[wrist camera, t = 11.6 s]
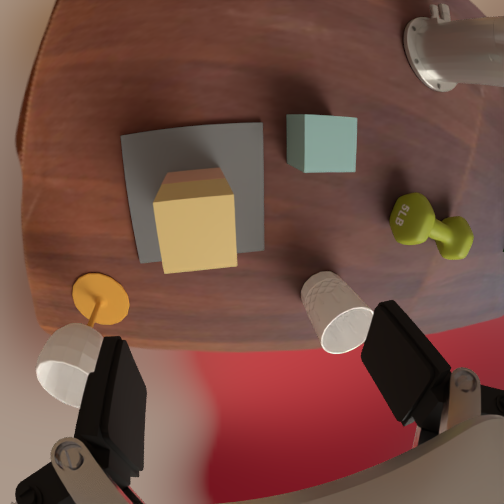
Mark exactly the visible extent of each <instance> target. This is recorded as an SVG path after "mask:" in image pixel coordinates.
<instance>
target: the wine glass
mask: <svg viewBox="0 0 504 504" xmlns="http://www.w3.org/2000/svg"><path fill="white" fill-rule="evenodd" d="M72 296H73V300H74V303H75V306H76V307H77V308H78V310H79V311H80V312H81V314H82V315H84V316H85V317H87V318H88V319H89V322H88V324H87V325H84V324H81V323H71V324H68V325H66V326H64V327H62V328H60V329H58V330H57V331H56V332H55V333H54V334H53V335H52V336H51V337H50V338H49V339H48V341H47V342H46V344H45V346H44V347H43V349H42V351H41V353H40V354H39V356H38V360H37V365H36V375H37V379H38V380H39V382H40V383H41V385H42V387H43V388H44V389H45V390H46V391H47V392H48V393H49V394H51V395H52V396H53V397H55V398H56V399H58V400H60V401H61V402H63V403H65V404H68V405H70V406H73V407H76V408H80V405H81V401H82V397H83V393H84V389H85V385H86V381H87V377H88V375H89V373H90V372H94V370H95V366H96V362H97V359H98V355H99V352H100V348H101V345H102V341H103V339H104V338H103V337H102V335H101V334H100V333H99V332H98V331H96V330H95V329H93V326H94V323H95V322H96V323H99V324H108V325H112V324H115V323H117V322H120V321H122V320H123V319H124V317H125V316H126V315H127V313H128V310H129V306H130V304H129V299H128V295H127V293H126V292H125V290H124V289H123V287H122V286H121V284H119V283H118V282H117V281H115V280H114V279H113V278H111V277H109V276H106V275H103V274H101V273H88V274H85V275H83V276H81V277H79V278H78V280H77V281H76V283H75V284H74V285H73V293H72Z"/></svg>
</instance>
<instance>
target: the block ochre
mask: <svg viewBox="0 0 504 504" xmlns="http://www.w3.org/2000/svg"><path fill="white" fill-rule="evenodd" d="M153 207H154V214H155V221H156V228H157V234H158V240H159V246H160V252H161V258H162V263H163V268H164V274H167V273H177V272H187V271H196V270H206V269H215V268H224V267H234V266H237V249H236V229H235V207H234V194H233V192H232V190H231V188H230V186H229V184H228V182H227V180H226V178H222V179H210V180H199V181H189V182H179V183H170V184H162V185H161V187H160V189H159V191H158V193H157V195H156V197H155V199H154V201H153Z"/></svg>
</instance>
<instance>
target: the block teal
mask: <svg viewBox="0 0 504 504" xmlns="http://www.w3.org/2000/svg"><path fill="white" fill-rule="evenodd" d="M286 120H287V164H289V165H291V166H293V167H295V168H297V169H299V170H300V171H302V172H304V173H308V172H355V165H356V143H357V118H351V117H340V116H327V115H308V114H287V115H286Z"/></svg>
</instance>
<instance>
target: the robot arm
mask: <svg viewBox="0 0 504 504" xmlns="http://www.w3.org/2000/svg"><path fill="white" fill-rule="evenodd" d="M429 7H430V12H431V17H430V18H427V17H419V18H415V19H413V20H411V21H410V22H409V23H408V24H407V26H406V28H405V31H404V47H405V52H406V55H407V58H408V61H409V63H410V65H411V67H412V69H413V71H414V72H415V74H416V75H417V76H418V78H419V79H420V80H421V81H422V82H423V83H424V84H425V85H426V86H428V87H429V88H431V89H433V90H435V91H441V92H447V91H450V90H452V89H453V88H454V87H455V86H456V85H457V83H470V84H482V85H492V86H500V87H504V16H498V17H483V18H472V19H464V20H456V21H451V20H450V11H449V7H448V6H447V5H445V4H438V6H436V5H429ZM438 11H439V12H438ZM439 15H440V18H439ZM361 359H362V362H363V363H364V365H365V367H366V368H367V370H368V372H369V373H370V375H371V376H372V378H373V380H374V382H375V384H376V385H377V387H378V389H379V390H380V392H381V394H382V395H383V397H384V399H385V401H386V402H387V404H388V406H389V407H390V409H391V411H392V413H393V414H394V416H395V418H396V419H397V421H399V422H401V423H402V425H403V426H406V425H408V424H410V423H412V422H414V421H415V422H416V423H417V429H416V434H415V439H414V443H413V448H412V449H411V450H409V451H407V452H405V453H403V454H401V455H399V456H397V457H394V458H392V459H390V460H388V461H385V462H383V463H381V464H378V465H376V466H373V467H371V468H368V469H366V470H363V471H361V472H358V473H355V474H353V475H350V476H347V477H344V478H341V479H338V480H335V481H332V482H328V483H325V484H322V485H318V486H315V487H311V488H308V489H304V490H300V491H296V492H291V493H286V494H282V495H277V496H272V497H266V498H260V499H254V500H247V501H240V502H232V503H222V504H504V390H500V389H496V388H491V387H488V386H484V385H480V380H479V378H478V376H477V375H476V374H475V373H474V372H473V371H472V370H470V369H467V368H462V367H461V368H457V369H456V370H454V371H453V372H452V373H451V372H450V369H451V367H450V365H449V364H448V363H447V362H446V360H445V359H444V358H443V357H442V355H441V354H440V353H439V352H438V350H437V349H436V348H435V347H434V346H433V345H432V343H431V342H430V341H429V340H428V338H427V337H426V336H425V335H424V334H423V333H422V331H421V330H420V329H419V328H418V327H417V326H416V324H415V323H414V322H413V321H412V320H411V319H410V318H409V316H408V315H407V314H406V313H405V312H404V311H403V310H402V309H401V308H400V306H399V305H398V304H397V303H396V302H395V301H394V300H389V301H385V302H381V303H379V304H378V306H377V307H376V308H375V310H374V314H373V317H372V321H371V324H370V327H369V331H368V334H367V337H366V340H365V343H364V346H363V349H362V352H361ZM146 397H147V391H146V386H145V384H144V381H143V379H142V377H141V375H140V372H139V370H138V368H137V366H136V363H135V361H134V359H133V356H132V354H131V351H130V349H129V346H128V344H127V342H126V340H122V339H121V337H120V336H111V337H104V339H103V341H102V345H101V348H100V352H99V355H98V359H97V362H96V366H95V370H94V372H90V373H89V375H88V377H87V381H86V385H85V389H84V393H83V397H82V401H81V405H80V410H79V415H78V419H77V424H76V429H75V434H74V438H72V437H68V438H67V437H66V438H63V439H60V440H59V441H57V443H55V444H54V446H53V448H52V450H51V462H50V463H48V464H47V465H45V466H44V467H42V468H41V469H39V470H38V471H37V472H35V473H33V474H32V475H30V476H29V477H27V478H26V479H24V480H23V481H21V482H20V483H19V484H18V486H17V488H16V493H15V496H16V503H13V502H12V503H11V504H145V503H144V501H142V499H141V498H140V497H139V496H138V495H137V494H136V493H135V492H134V491H133V490H132V488H131V487H130V486H129V485H130V477H139V471H142V470H143V467H144V430H145V412H146Z"/></svg>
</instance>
